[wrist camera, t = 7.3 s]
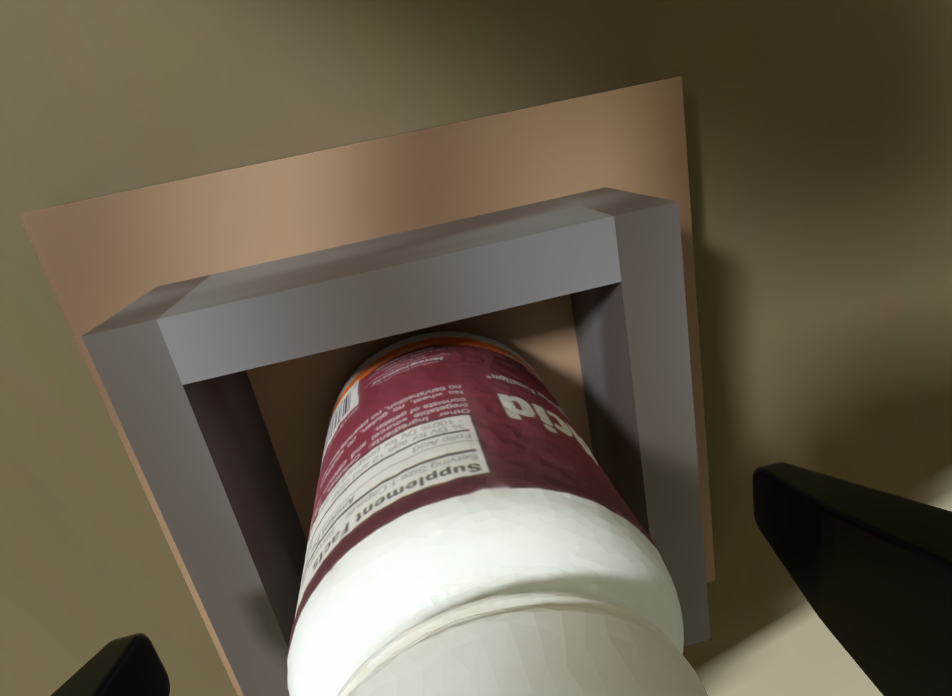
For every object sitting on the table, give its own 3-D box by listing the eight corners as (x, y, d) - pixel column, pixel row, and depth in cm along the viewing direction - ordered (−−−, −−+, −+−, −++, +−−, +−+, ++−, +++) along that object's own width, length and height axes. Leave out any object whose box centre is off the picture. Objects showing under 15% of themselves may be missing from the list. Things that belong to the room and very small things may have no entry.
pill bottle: (588, 450, 14) (879, 889, 6) (410, 561, 14) (457, 1123, 6) (479, 277, 12) (685, 572, 4) (277, 407, 12) (101, 923, 4)
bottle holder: (662, 80, 12) (783, 53, 8) (700, 560, 16) (791, 678, 13) (41, 209, 11) (-117, 240, 7) (252, 685, 15) (214, 851, 12)
